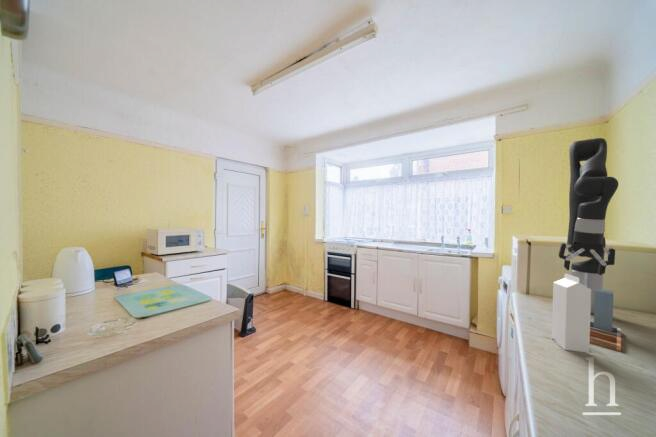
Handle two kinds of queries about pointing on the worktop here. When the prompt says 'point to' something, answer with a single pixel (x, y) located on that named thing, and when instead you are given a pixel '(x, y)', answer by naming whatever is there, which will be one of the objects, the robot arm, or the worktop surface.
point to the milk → (571, 314)
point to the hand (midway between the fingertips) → (583, 271)
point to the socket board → (607, 338)
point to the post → (603, 310)
